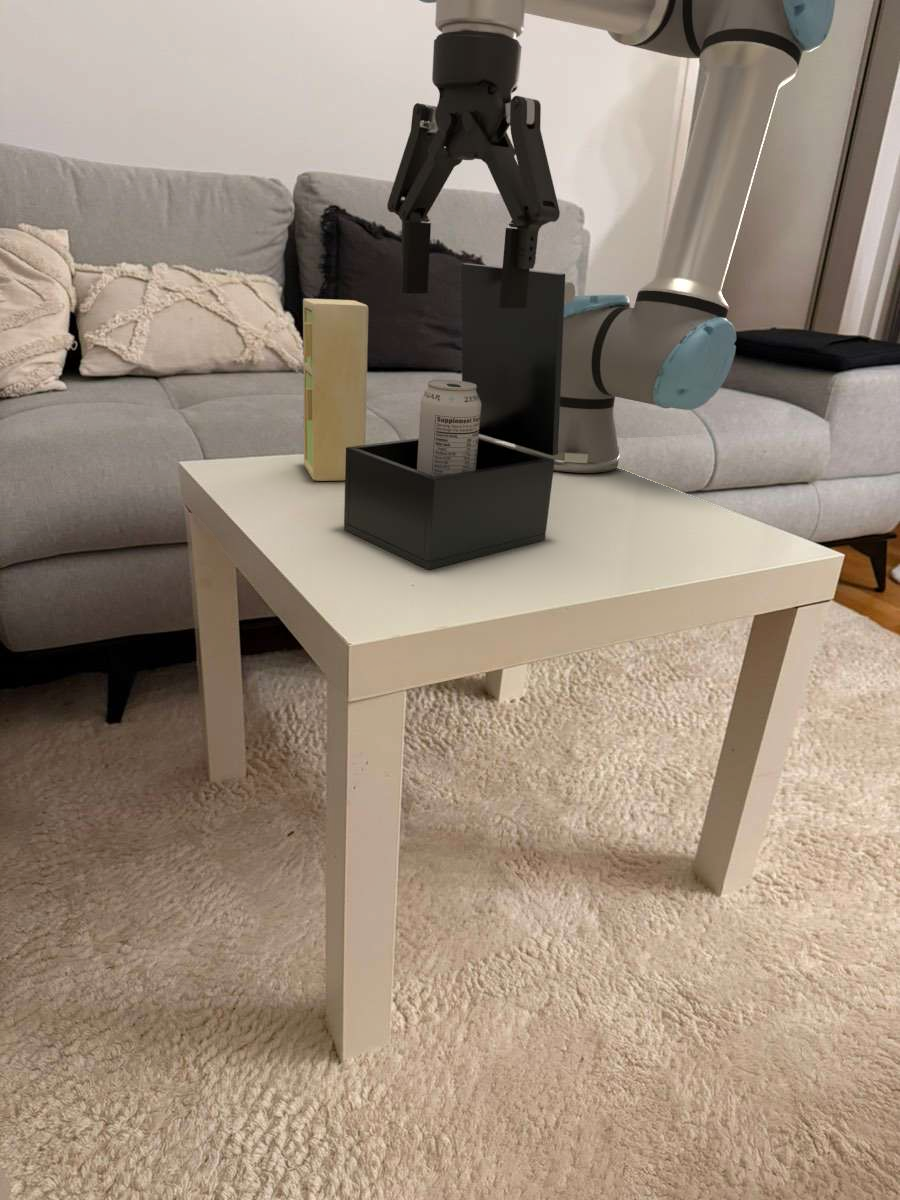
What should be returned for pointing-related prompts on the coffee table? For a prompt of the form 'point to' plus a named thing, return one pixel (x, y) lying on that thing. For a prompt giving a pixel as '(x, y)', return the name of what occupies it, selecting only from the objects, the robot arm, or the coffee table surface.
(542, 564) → the coffee table surface
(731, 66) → the robot arm
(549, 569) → the coffee table surface
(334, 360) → the toy refrigerator
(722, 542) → the coffee table surface
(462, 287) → the box lid
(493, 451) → the black box
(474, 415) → the energy drink can
